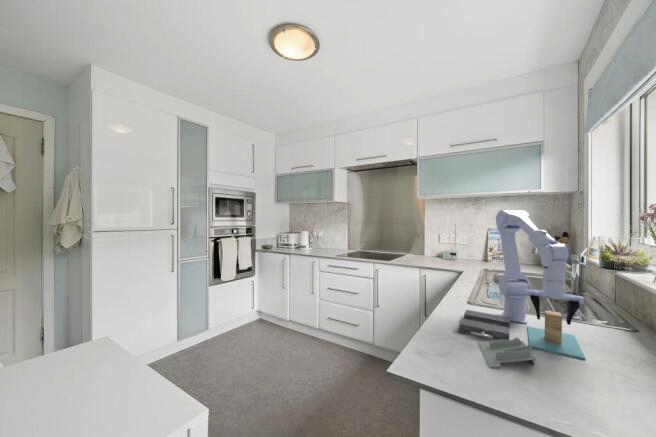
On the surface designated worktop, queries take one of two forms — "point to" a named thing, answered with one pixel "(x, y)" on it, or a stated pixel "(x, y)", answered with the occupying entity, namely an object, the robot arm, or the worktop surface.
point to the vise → (485, 325)
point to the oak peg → (553, 327)
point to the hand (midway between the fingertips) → (553, 320)
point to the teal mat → (555, 344)
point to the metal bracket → (505, 352)
